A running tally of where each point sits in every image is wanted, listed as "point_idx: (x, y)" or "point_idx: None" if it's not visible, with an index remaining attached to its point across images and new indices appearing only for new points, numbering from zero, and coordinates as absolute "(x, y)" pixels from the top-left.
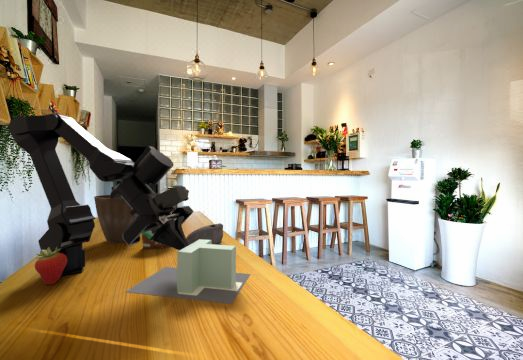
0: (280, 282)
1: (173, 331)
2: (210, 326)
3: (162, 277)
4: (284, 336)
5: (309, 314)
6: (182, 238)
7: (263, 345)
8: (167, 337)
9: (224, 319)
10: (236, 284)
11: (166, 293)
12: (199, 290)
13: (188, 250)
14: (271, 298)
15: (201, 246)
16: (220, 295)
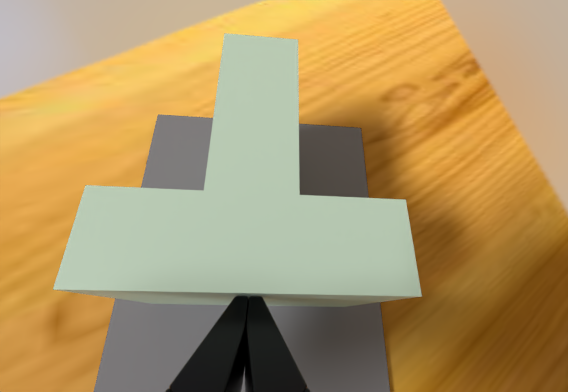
0: (206, 44)
1: (500, 216)
2: (451, 151)
3: None
4: (423, 39)
5: (345, 5)
6: (231, 374)
7: (457, 63)
8: (521, 219)
9: (417, 132)
10: None
11: (365, 342)
12: None
13: (373, 236)
14: (301, 59)
15: (270, 192)
16: (327, 164)
